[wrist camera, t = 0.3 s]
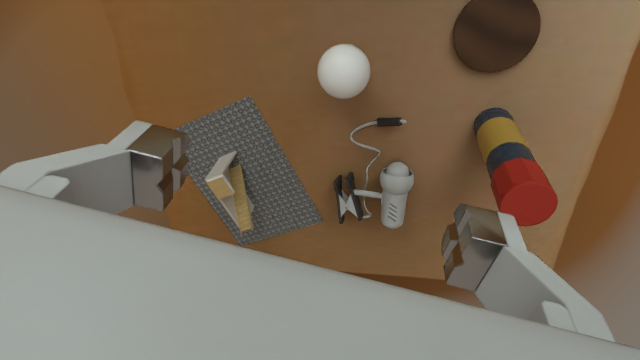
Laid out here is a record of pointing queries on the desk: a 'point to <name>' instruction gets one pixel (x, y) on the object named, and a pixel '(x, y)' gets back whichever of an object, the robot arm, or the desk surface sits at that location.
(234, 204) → the model
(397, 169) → the clip-on lamp
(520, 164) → the cap
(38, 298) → the robot arm
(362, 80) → the lightbulb
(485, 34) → the coaster
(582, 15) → the desk surface
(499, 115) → the spray can
